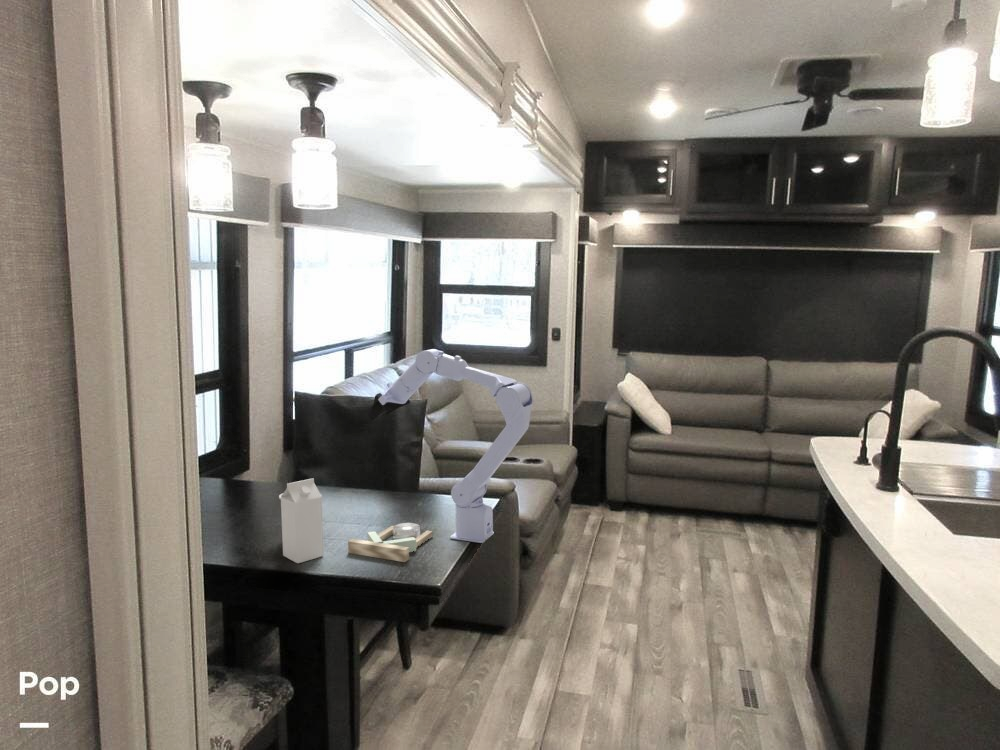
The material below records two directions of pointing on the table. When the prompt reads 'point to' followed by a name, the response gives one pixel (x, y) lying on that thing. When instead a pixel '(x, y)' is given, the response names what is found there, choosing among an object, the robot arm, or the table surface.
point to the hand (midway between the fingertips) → (378, 415)
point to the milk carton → (302, 521)
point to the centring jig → (387, 545)
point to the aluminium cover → (406, 531)
